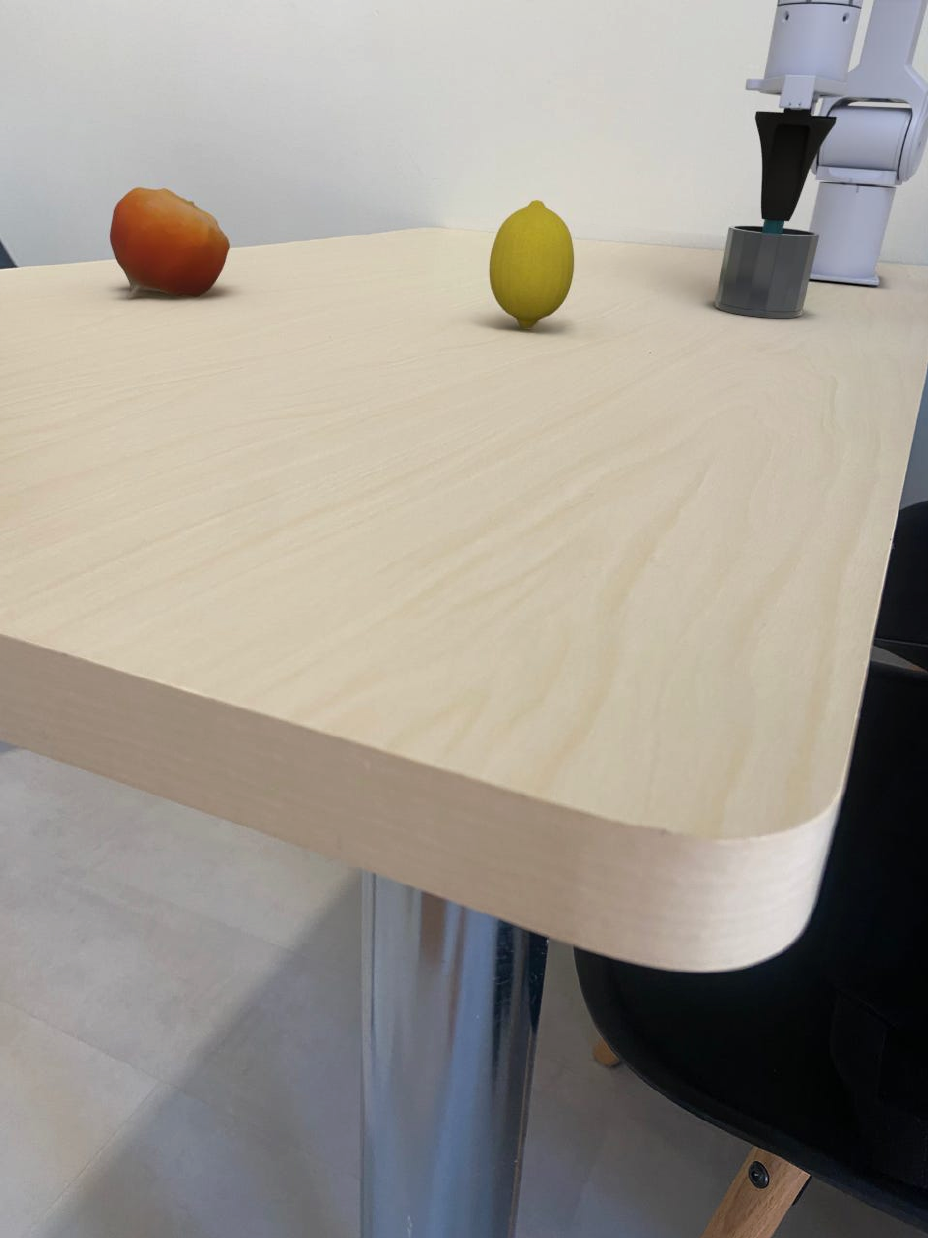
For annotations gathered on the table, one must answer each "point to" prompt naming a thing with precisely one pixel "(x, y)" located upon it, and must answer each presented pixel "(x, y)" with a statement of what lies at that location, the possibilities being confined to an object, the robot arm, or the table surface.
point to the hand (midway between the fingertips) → (776, 219)
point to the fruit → (167, 243)
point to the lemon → (532, 264)
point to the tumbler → (766, 272)
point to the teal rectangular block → (772, 226)
